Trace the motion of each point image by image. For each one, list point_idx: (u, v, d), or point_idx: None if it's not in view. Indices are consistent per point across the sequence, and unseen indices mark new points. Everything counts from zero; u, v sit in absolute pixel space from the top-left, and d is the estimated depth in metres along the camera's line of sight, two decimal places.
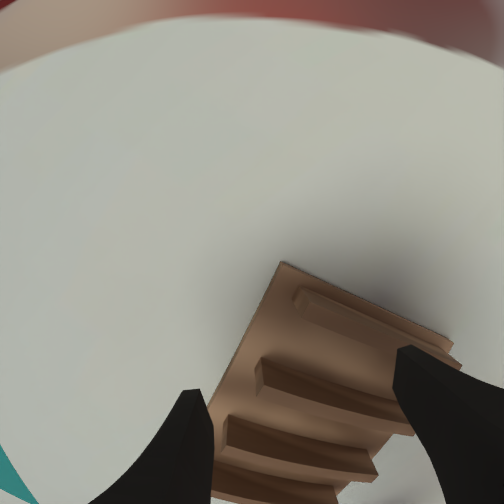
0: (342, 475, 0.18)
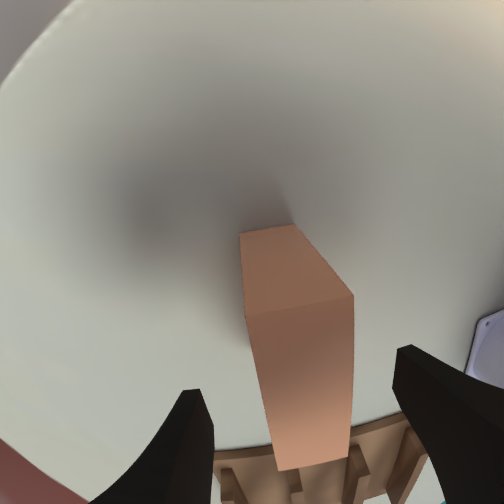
0: (360, 492, 0.19)
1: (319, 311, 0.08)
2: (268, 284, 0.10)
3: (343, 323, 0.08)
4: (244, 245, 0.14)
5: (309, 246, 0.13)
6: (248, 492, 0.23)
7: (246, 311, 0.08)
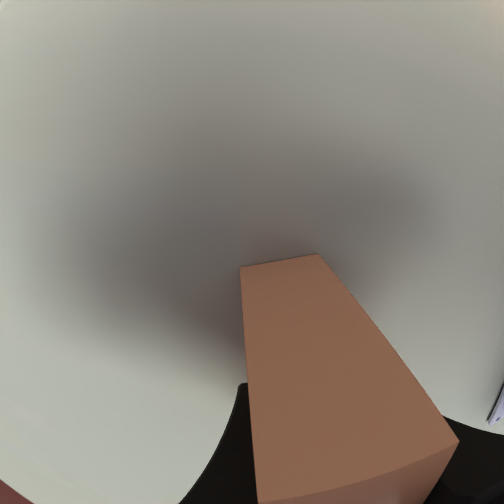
0: None
1: (397, 476, 0.03)
2: (298, 408, 0.05)
3: (428, 476, 0.03)
4: (248, 296, 0.09)
5: (353, 305, 0.08)
6: None
7: (260, 489, 0.03)
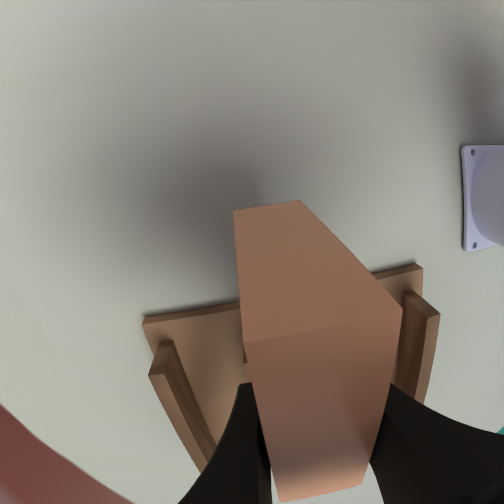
0: None
1: (354, 334, 0.05)
2: (276, 287, 0.07)
3: (383, 347, 0.06)
4: (239, 227, 0.11)
5: (324, 230, 0.10)
6: (201, 397, 0.21)
7: (245, 334, 0.05)
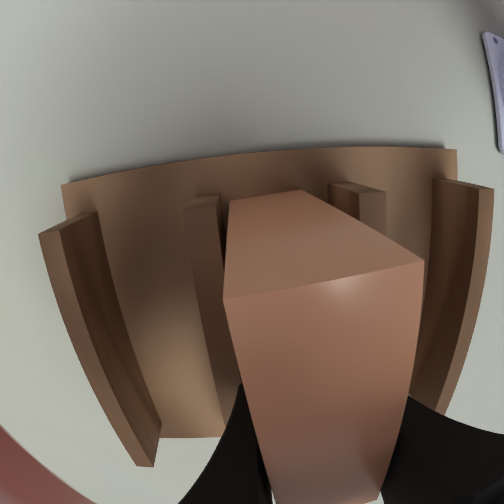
0: None
1: (366, 292, 0.04)
2: (268, 250, 0.06)
3: (404, 314, 0.04)
4: (234, 211, 0.10)
5: (327, 206, 0.09)
6: (132, 319, 0.14)
7: (226, 292, 0.04)
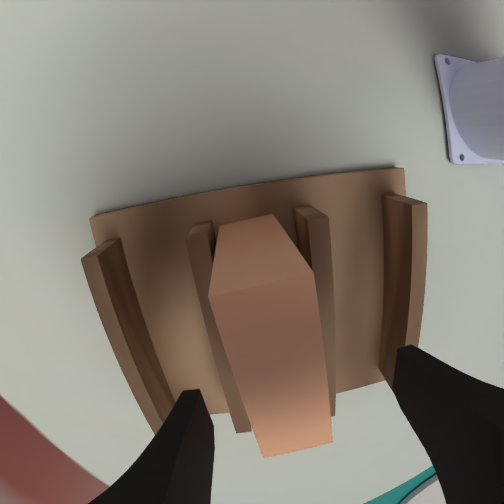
0: (323, 287, 0.15)
1: (280, 290, 0.09)
2: (235, 268, 0.10)
3: (306, 302, 0.09)
4: (221, 236, 0.15)
5: (281, 232, 0.13)
6: (150, 318, 0.19)
7: (210, 293, 0.09)
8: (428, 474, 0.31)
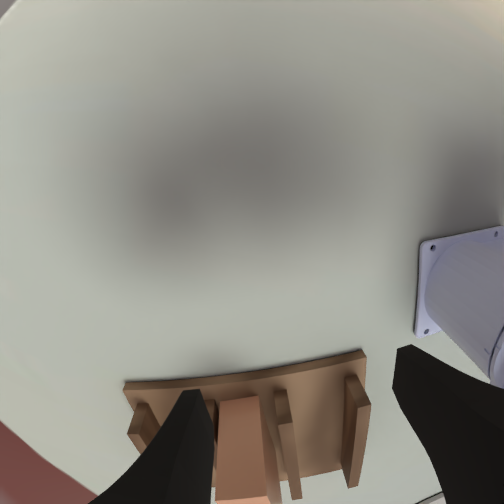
0: (289, 450, 0.19)
1: (250, 500, 0.13)
2: (228, 477, 0.15)
3: (264, 502, 0.13)
4: (221, 425, 0.19)
5: (259, 437, 0.18)
6: None
7: (215, 497, 0.13)
8: None
